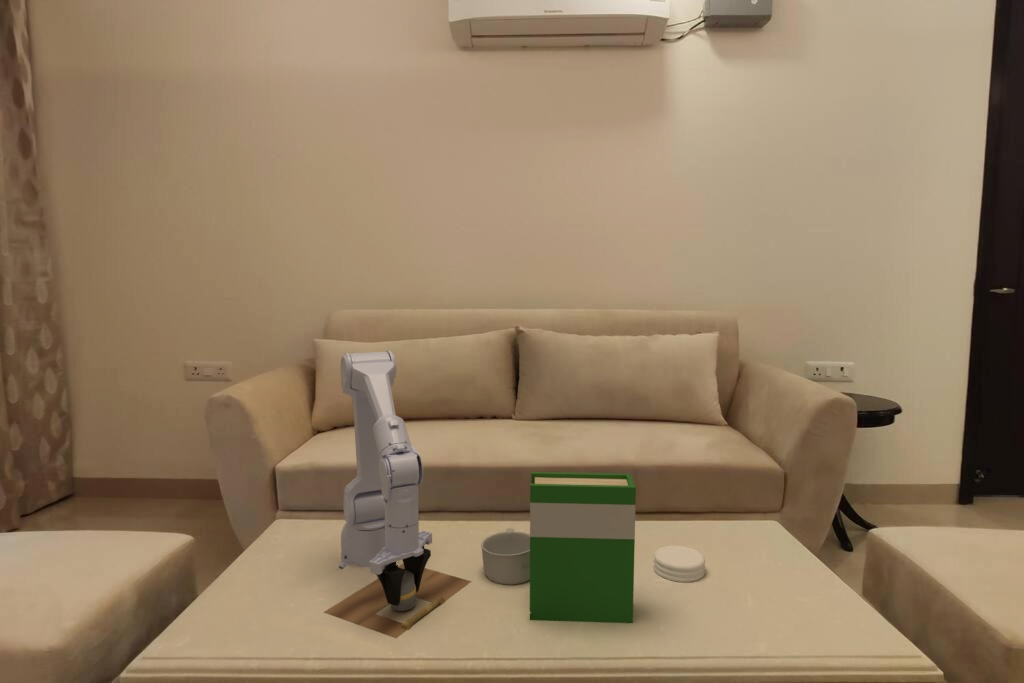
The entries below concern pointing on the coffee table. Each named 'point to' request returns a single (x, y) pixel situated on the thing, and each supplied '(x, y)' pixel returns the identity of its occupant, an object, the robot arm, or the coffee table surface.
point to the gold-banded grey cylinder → (406, 593)
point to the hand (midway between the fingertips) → (403, 596)
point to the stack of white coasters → (679, 563)
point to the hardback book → (582, 547)
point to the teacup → (507, 557)
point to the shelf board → (374, 599)
